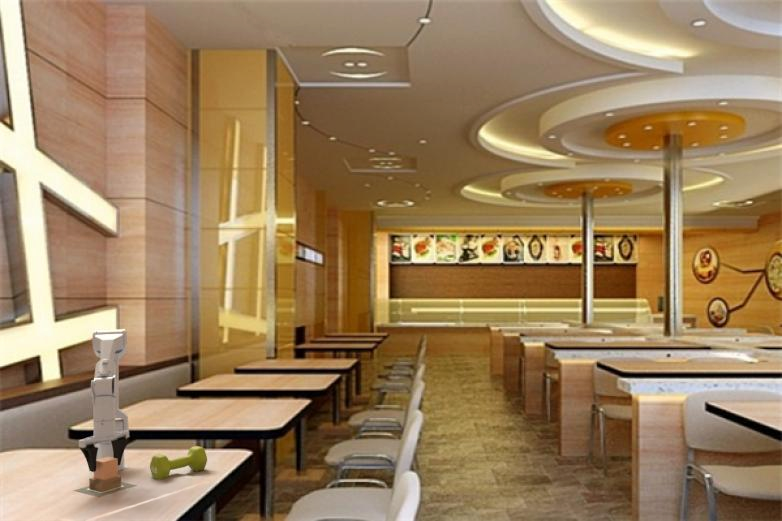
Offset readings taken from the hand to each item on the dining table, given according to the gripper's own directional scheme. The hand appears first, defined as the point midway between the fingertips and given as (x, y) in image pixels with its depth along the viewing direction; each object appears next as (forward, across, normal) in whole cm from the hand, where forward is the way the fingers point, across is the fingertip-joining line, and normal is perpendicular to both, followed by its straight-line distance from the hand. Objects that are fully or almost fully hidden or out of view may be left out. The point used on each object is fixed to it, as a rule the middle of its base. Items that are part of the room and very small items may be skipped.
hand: (105, 467), depth 193 cm
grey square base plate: (+6, 0, 0) cm, 6 cm away
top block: (+3, 0, 0) cm, 3 cm away
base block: (+6, 0, 0) cm, 6 cm away
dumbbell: (+7, +21, -6) cm, 23 cm away
